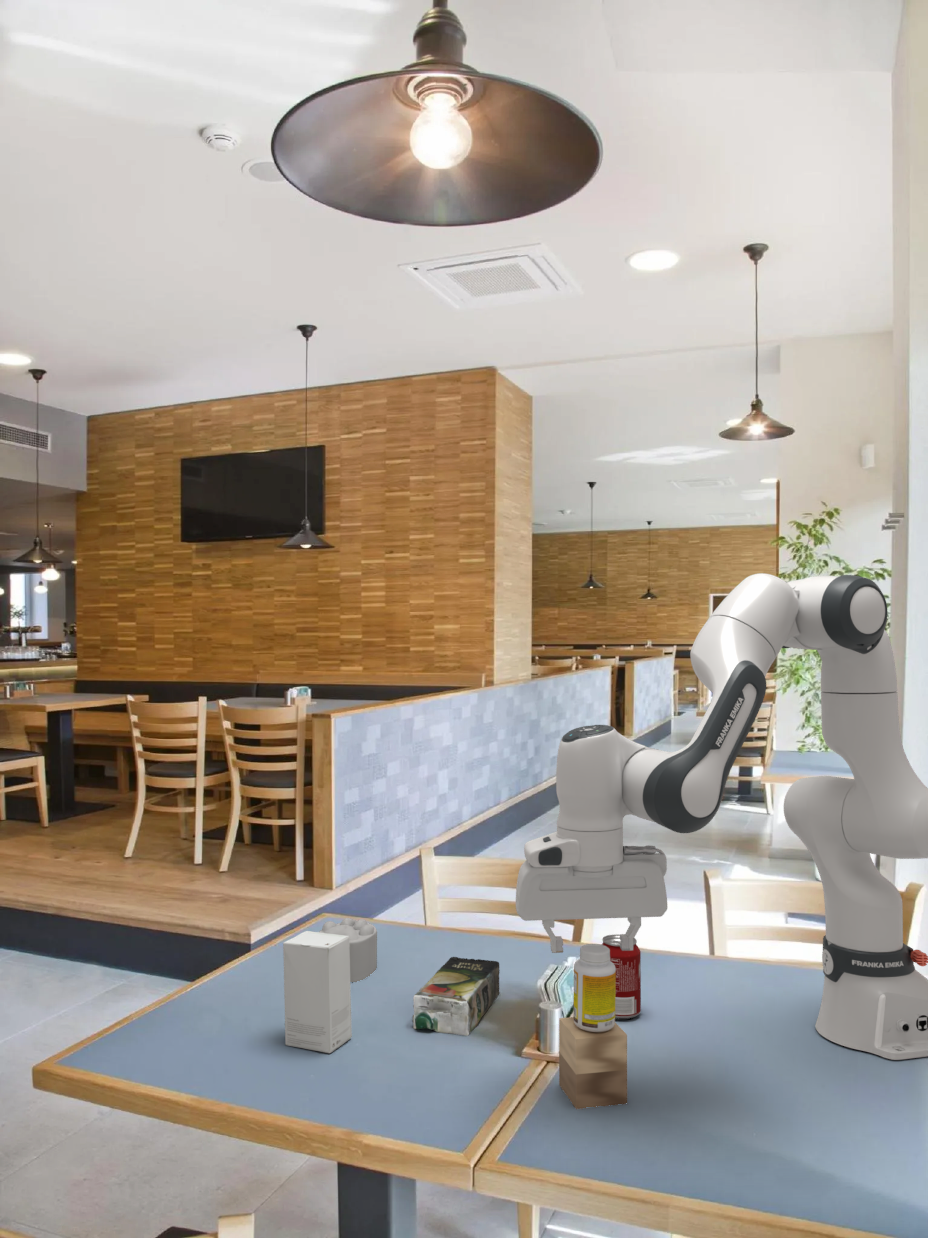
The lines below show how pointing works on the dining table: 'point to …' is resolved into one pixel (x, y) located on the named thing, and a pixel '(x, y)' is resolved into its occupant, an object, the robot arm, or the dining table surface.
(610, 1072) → the tower base block
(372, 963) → the lumpy-topped squat cylinder
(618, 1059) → the tower top block
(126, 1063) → the dining table surface
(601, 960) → the supplement bottle
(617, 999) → the soda can
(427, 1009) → the juice carton
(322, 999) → the skincare box
